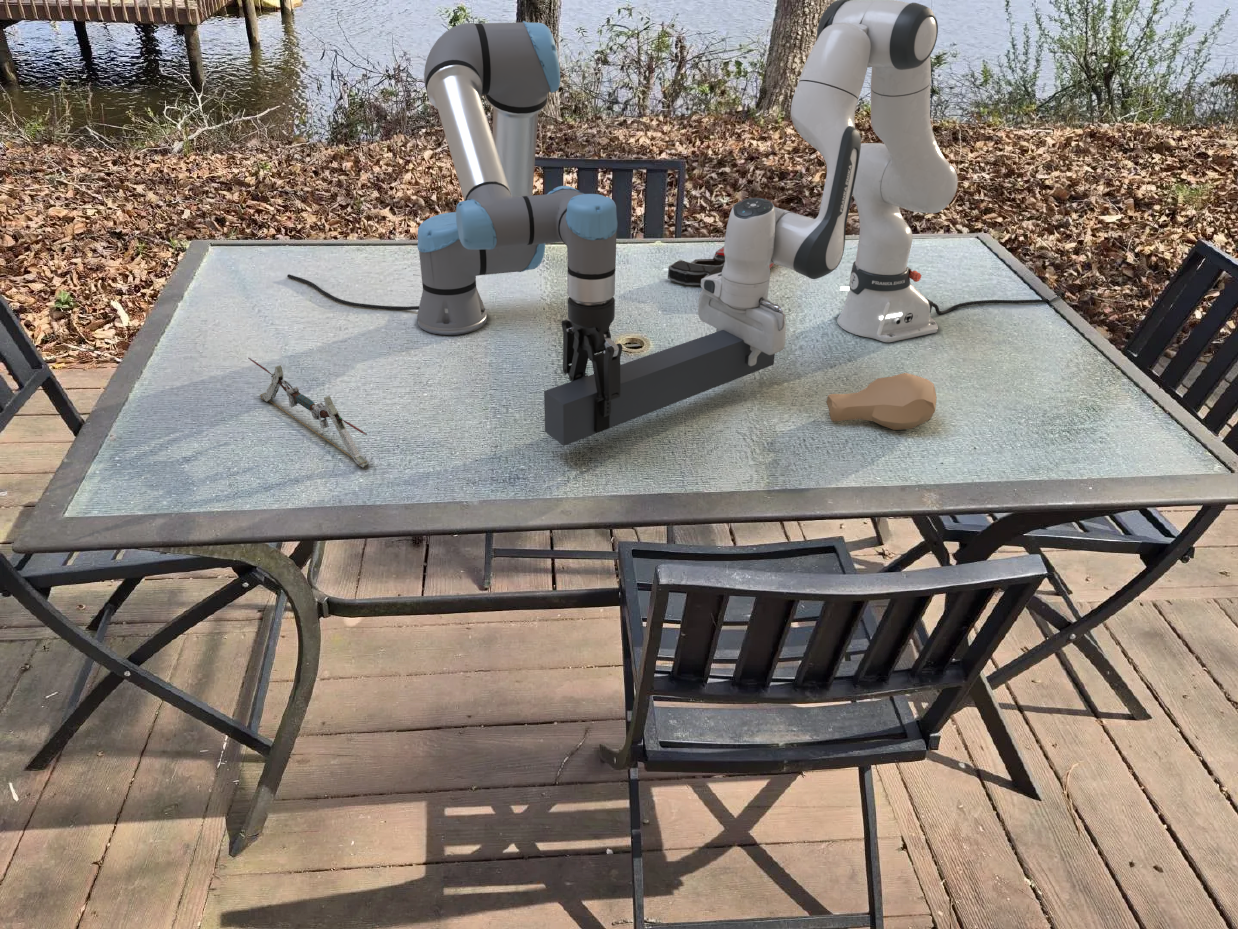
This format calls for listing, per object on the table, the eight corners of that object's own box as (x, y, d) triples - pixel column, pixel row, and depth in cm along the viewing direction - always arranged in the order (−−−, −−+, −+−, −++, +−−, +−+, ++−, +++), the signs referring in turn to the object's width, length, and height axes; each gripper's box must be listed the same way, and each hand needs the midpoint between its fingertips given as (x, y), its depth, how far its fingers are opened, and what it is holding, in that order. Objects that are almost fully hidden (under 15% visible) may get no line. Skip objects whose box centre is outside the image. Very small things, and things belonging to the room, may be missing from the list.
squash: (941, 436, 161) (948, 398, 155) (831, 444, 163) (834, 407, 157) (927, 398, 169) (933, 361, 163) (822, 407, 171) (824, 370, 164)
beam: (563, 446, 146) (563, 404, 142) (544, 431, 150) (543, 390, 145) (773, 364, 173) (778, 327, 169) (753, 354, 177) (757, 317, 172)
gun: (663, 267, 215) (734, 286, 207) (718, 230, 237) (784, 246, 229) (662, 284, 218) (732, 303, 210) (716, 246, 240) (782, 262, 232)
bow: (378, 470, 147) (371, 419, 141) (369, 475, 146) (361, 423, 140) (261, 391, 168) (250, 343, 163) (252, 394, 167) (241, 347, 162)
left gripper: (647, 310, 135) (641, 438, 148) (576, 273, 147) (576, 394, 160) (608, 322, 131) (606, 452, 144) (538, 283, 143) (542, 406, 156)
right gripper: (798, 304, 156) (788, 373, 164) (719, 269, 170) (713, 334, 177) (773, 313, 153) (764, 382, 161) (694, 276, 166) (690, 342, 174)
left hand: (590, 421), depth 152 cm, fingers closed on beam, 6 cm apart
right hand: (737, 357), depth 169 cm, fingers closed on beam, 5 cm apart
